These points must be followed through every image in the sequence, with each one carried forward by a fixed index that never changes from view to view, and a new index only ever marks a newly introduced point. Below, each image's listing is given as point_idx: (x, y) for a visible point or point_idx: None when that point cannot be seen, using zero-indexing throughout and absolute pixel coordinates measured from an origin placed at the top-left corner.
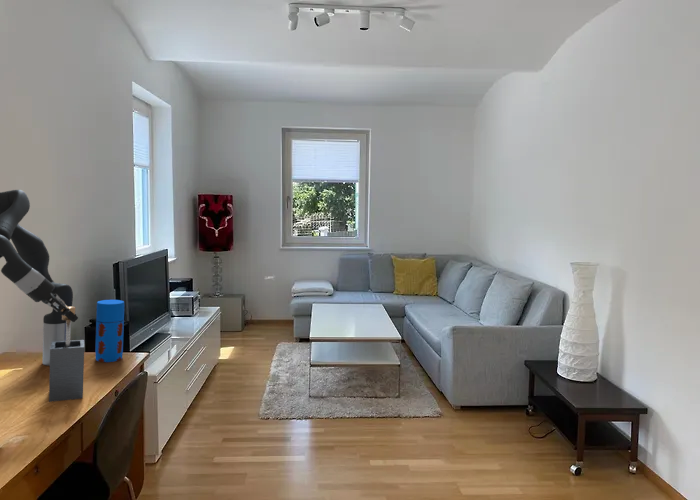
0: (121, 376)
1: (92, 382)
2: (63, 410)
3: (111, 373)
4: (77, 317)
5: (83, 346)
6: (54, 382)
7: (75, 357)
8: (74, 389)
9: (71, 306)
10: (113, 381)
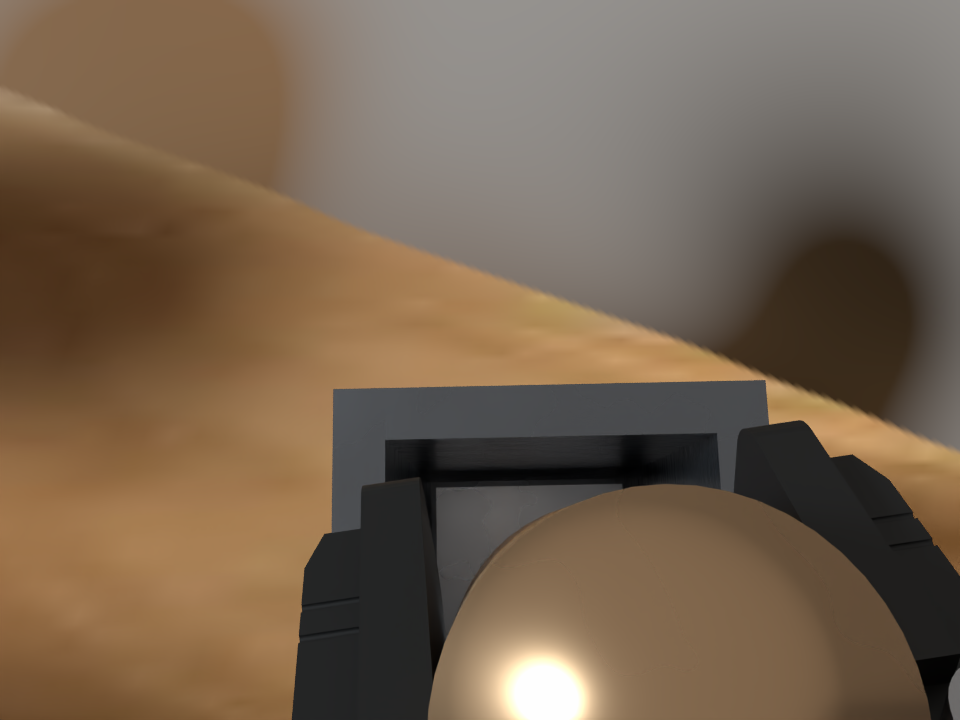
0: (196, 169)
1: (275, 385)
2: None
3: (87, 240)
4: (802, 434)
5: (725, 391)
6: None
7: None
8: None
9: (451, 642)
10: (304, 231)
